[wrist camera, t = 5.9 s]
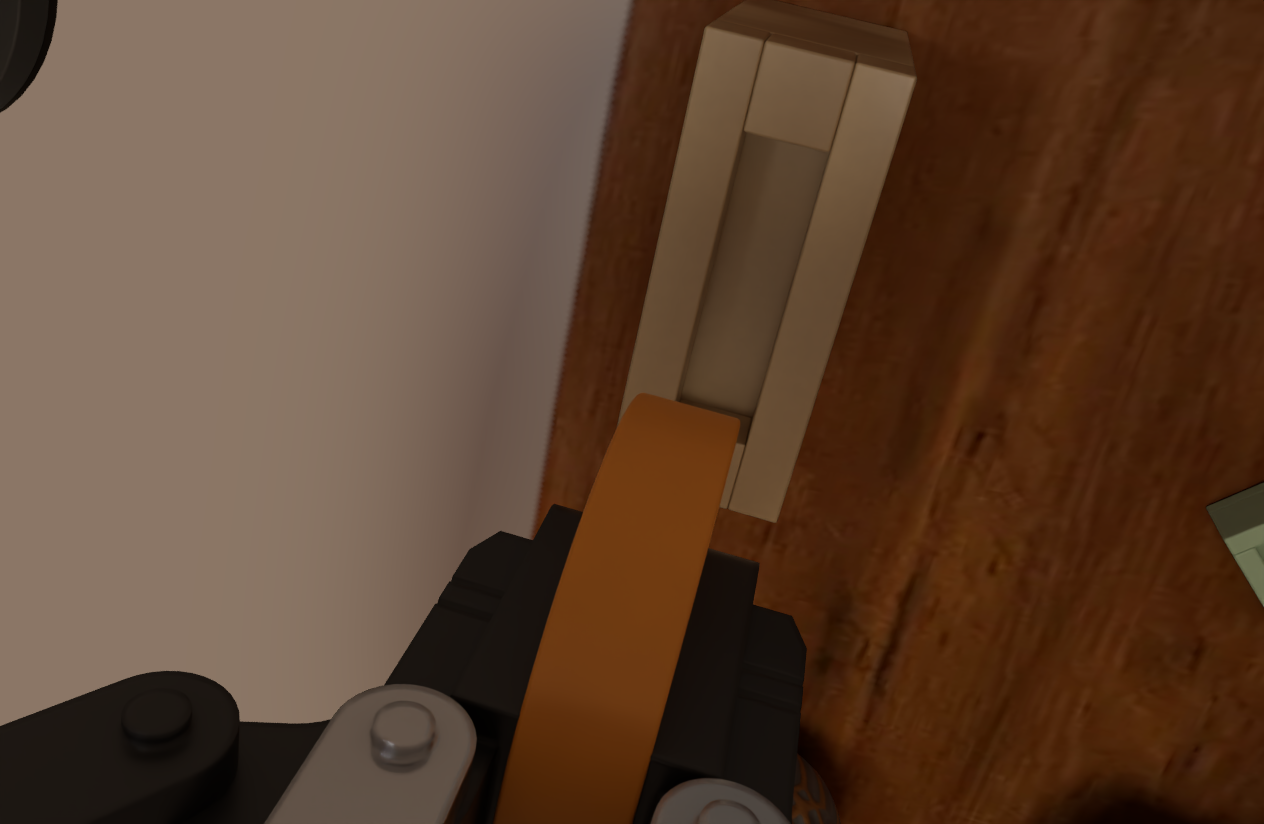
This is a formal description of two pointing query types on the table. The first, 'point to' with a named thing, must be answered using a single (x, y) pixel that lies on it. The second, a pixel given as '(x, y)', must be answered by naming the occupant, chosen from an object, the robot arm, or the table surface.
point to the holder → (768, 226)
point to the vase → (812, 797)
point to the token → (619, 619)
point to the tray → (1244, 532)
